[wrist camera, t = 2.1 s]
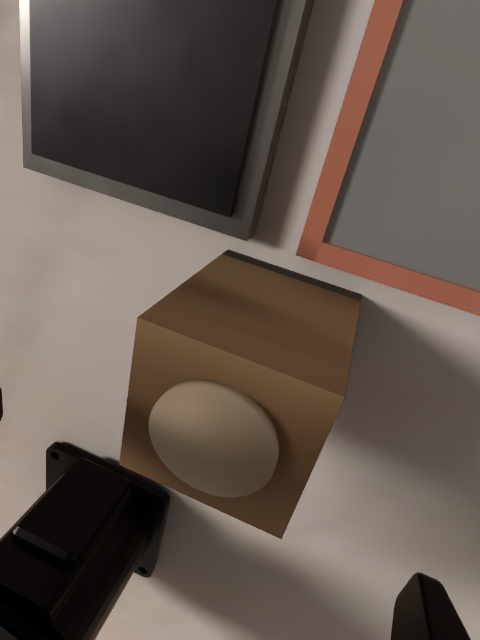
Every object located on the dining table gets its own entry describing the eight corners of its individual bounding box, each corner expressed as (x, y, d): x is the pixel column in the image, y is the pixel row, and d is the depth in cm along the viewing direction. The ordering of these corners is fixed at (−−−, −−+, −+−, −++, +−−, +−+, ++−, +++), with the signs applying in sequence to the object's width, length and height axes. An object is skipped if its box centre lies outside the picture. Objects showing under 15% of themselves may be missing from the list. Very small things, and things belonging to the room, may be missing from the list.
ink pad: (254, 235, 13) (243, 243, 12) (40, 165, 14) (16, 168, 13) (340, -105, 9) (334, -132, 8) (39, -156, 11) (4, -183, 10)
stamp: (316, 403, 15) (278, 549, 10) (203, 359, 16) (112, 472, 11) (362, 294, 13) (343, 406, 8) (228, 249, 14) (129, 323, 8)
